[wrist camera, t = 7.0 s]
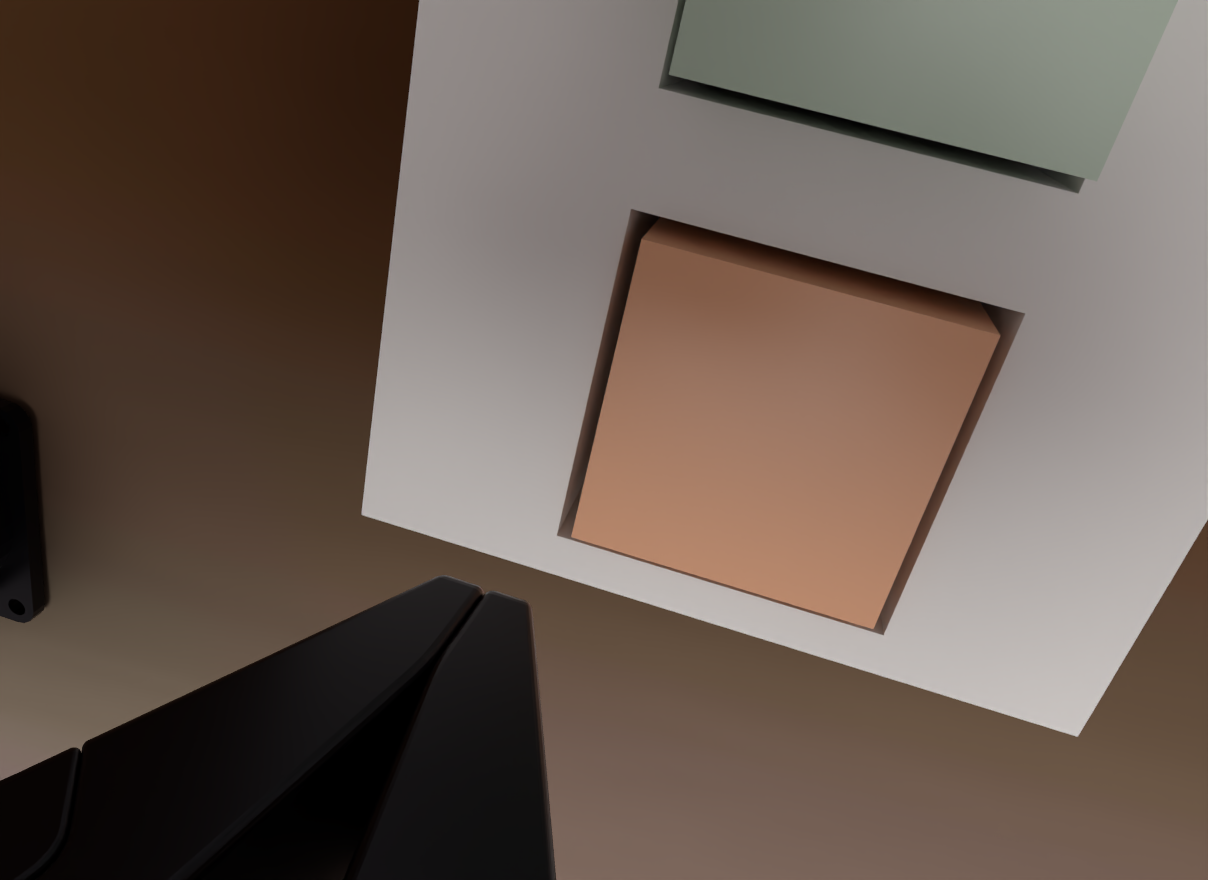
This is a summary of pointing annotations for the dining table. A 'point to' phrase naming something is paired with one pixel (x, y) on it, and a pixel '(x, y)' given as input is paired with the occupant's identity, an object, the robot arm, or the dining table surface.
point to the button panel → (829, 232)
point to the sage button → (940, 67)
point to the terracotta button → (777, 418)
